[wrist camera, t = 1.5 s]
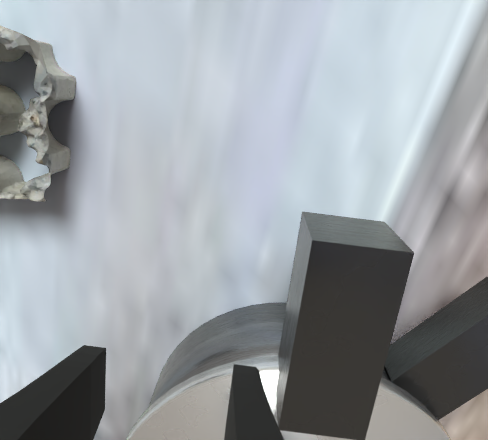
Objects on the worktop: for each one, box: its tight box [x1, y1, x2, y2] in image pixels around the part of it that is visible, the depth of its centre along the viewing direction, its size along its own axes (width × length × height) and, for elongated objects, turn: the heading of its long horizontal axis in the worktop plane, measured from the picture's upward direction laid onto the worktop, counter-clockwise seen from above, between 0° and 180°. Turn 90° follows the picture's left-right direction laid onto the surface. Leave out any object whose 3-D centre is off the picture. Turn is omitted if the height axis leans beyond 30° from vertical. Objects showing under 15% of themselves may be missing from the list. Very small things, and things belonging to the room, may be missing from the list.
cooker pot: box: [148, 277, 488, 420], centre depth 21 cm, size 24×15×5 cm, turn 133°
